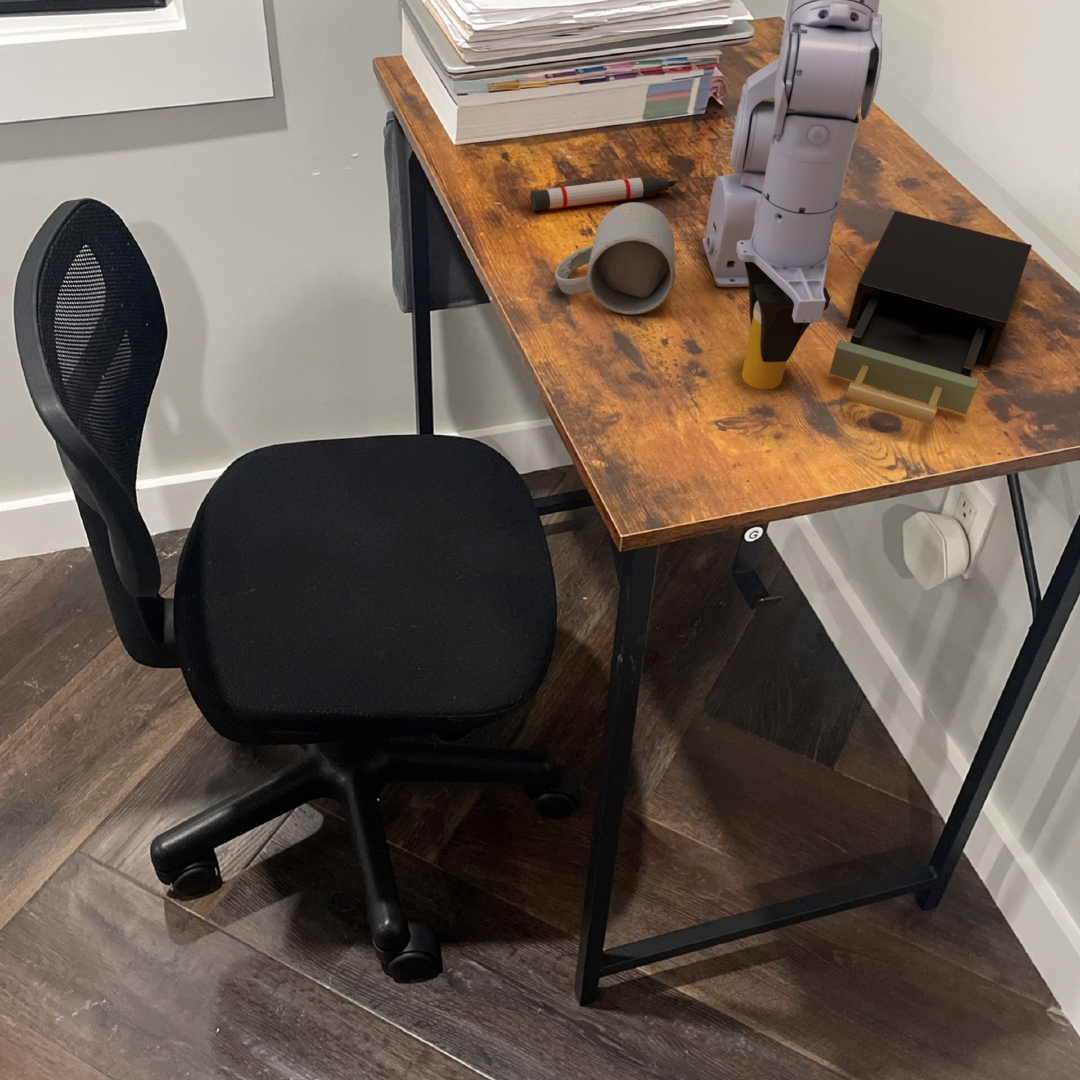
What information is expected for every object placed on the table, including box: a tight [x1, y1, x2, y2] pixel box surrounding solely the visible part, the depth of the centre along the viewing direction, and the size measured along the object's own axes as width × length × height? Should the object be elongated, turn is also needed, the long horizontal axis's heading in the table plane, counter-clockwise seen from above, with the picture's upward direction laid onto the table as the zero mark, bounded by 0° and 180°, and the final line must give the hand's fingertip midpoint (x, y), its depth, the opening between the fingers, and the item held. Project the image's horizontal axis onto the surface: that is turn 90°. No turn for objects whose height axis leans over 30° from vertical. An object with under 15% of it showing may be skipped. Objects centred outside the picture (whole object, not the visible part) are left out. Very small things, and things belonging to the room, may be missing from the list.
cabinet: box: [846, 210, 1033, 367], centre depth 103 cm, size 14×13×5 cm
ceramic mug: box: [554, 201, 676, 316], centre depth 102 cm, size 11×8×8 cm
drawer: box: [829, 295, 988, 425], centre depth 95 cm, size 17×11×3 cm
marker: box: [529, 175, 678, 212], centre depth 115 cm, size 15×2×2 cm, turn 107°
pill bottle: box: [741, 301, 787, 391], centre depth 94 cm, size 4×4×7 cm
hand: (769, 344), depth 94 cm, fingers closed on pill bottle, 3 cm apart
